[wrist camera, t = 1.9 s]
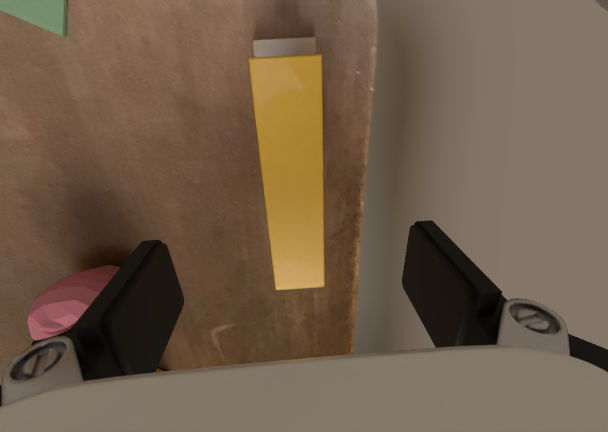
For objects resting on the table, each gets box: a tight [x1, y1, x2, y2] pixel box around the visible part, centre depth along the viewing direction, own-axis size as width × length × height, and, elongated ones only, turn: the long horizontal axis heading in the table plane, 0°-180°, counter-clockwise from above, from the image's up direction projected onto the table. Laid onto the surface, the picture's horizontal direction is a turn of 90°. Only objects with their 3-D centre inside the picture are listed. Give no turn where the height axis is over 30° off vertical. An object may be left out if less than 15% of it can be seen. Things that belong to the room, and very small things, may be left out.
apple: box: [28, 265, 121, 346], centre depth 28 cm, size 10×9×10 cm
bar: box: [248, 54, 325, 290], centre depth 18 cm, size 14×3×3 cm, turn 2°
